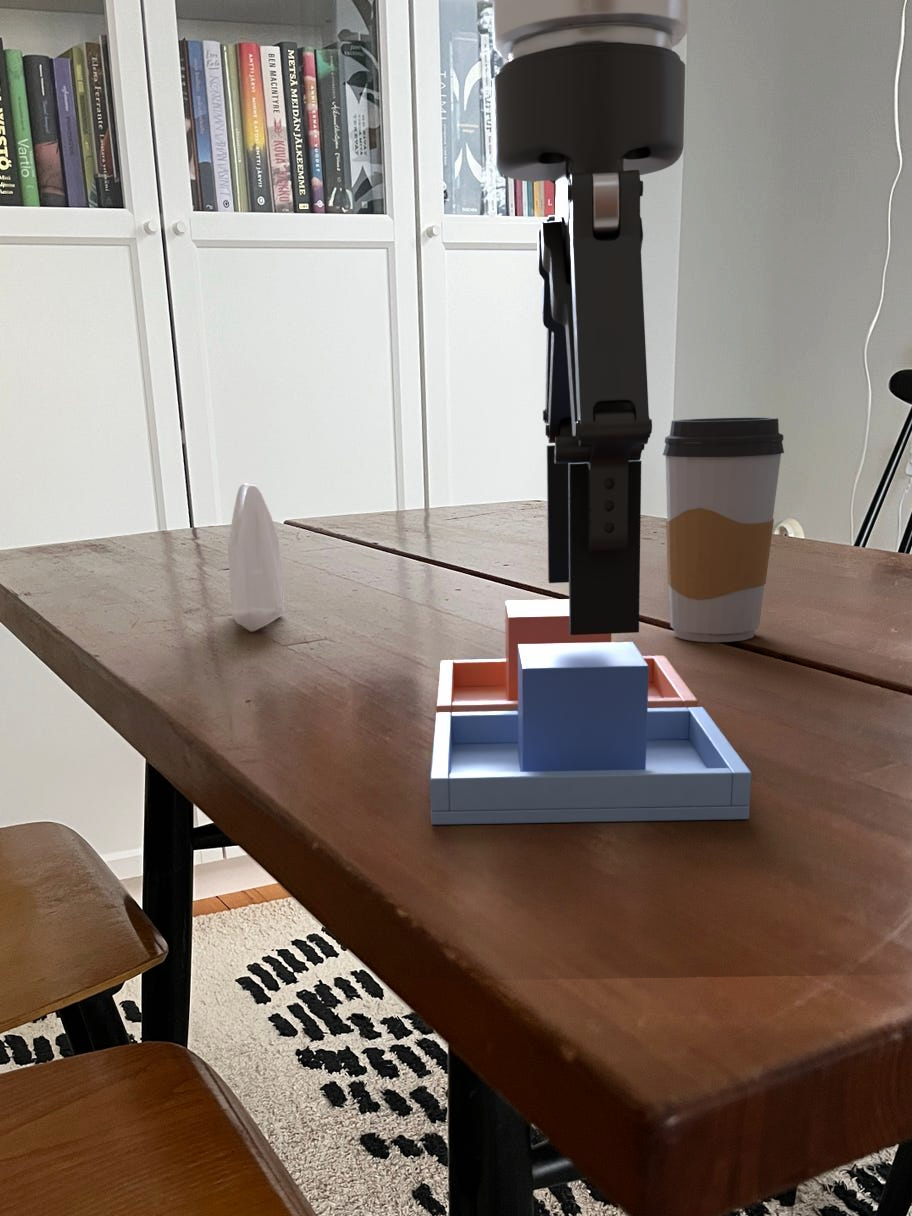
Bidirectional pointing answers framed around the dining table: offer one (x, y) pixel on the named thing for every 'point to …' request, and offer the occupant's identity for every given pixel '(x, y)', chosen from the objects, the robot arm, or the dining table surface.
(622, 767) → the blue block
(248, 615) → the white pointed piece
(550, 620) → the terracotta block
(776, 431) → the coffee cup
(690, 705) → the terracotta tray
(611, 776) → the blue tray
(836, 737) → the dining table surface
